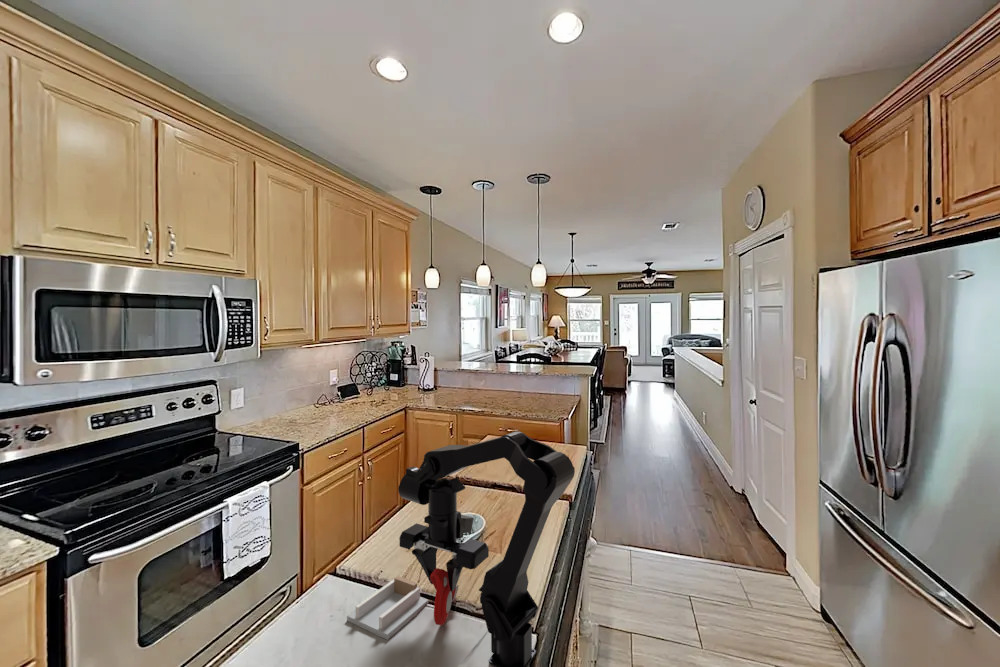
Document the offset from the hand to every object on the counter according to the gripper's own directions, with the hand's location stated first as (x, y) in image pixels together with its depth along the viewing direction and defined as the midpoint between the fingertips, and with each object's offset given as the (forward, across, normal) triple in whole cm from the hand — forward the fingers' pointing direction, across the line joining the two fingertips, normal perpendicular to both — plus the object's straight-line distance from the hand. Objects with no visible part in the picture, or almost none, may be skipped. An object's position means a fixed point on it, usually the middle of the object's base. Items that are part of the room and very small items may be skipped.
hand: (442, 586), depth 87 cm
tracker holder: (+6, 0, 0) cm, 6 cm away
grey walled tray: (+6, +10, +4) cm, 13 cm away
